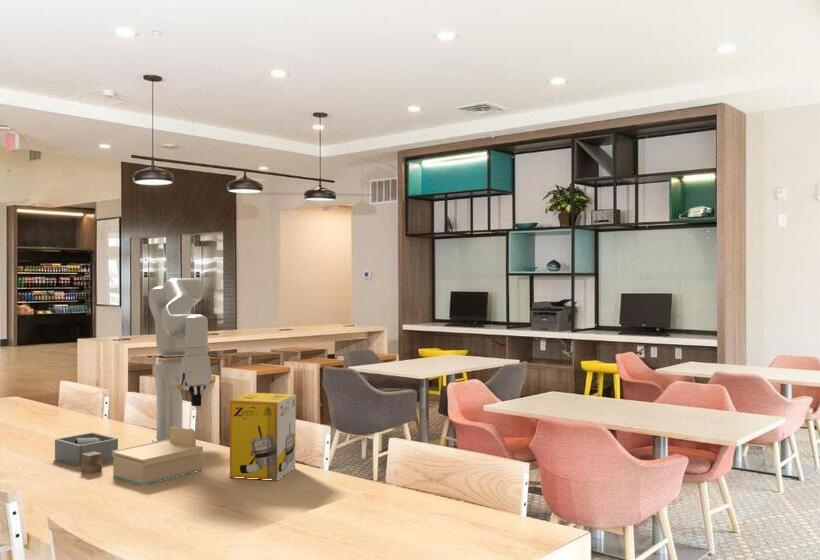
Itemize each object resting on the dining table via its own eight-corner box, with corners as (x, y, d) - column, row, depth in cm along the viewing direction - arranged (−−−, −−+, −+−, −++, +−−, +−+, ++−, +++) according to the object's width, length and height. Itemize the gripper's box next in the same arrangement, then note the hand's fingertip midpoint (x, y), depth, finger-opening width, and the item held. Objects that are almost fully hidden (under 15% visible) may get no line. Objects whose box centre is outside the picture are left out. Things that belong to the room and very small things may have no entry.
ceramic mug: (102, 459, 266) (102, 437, 266) (77, 462, 262) (77, 440, 262) (95, 454, 275) (95, 432, 275) (71, 457, 270) (71, 435, 270)
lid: (170, 444, 263) (170, 425, 263) (202, 452, 252) (202, 432, 252) (111, 457, 245) (111, 435, 245) (144, 466, 234) (144, 444, 234)
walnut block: (94, 469, 254) (94, 451, 254) (101, 471, 251) (101, 453, 251) (81, 472, 250) (81, 453, 250) (88, 474, 247) (88, 456, 247)
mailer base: (171, 463, 262) (171, 442, 262) (201, 470, 253) (201, 449, 252) (113, 476, 245) (113, 455, 245) (142, 485, 235) (142, 462, 235)
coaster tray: (92, 451, 278) (92, 432, 278) (118, 458, 268) (118, 438, 268) (54, 459, 266) (54, 439, 266) (79, 466, 256) (79, 446, 256)
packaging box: (277, 481, 241) (277, 402, 241) (229, 478, 244) (229, 400, 244) (295, 468, 257) (295, 394, 256) (250, 465, 260) (250, 392, 260)
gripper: (207, 349, 268) (207, 401, 268) (170, 353, 256) (170, 407, 256) (221, 351, 264) (220, 404, 264) (184, 354, 252) (184, 410, 252)
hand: (196, 405), depth 260 cm, fingers closed
